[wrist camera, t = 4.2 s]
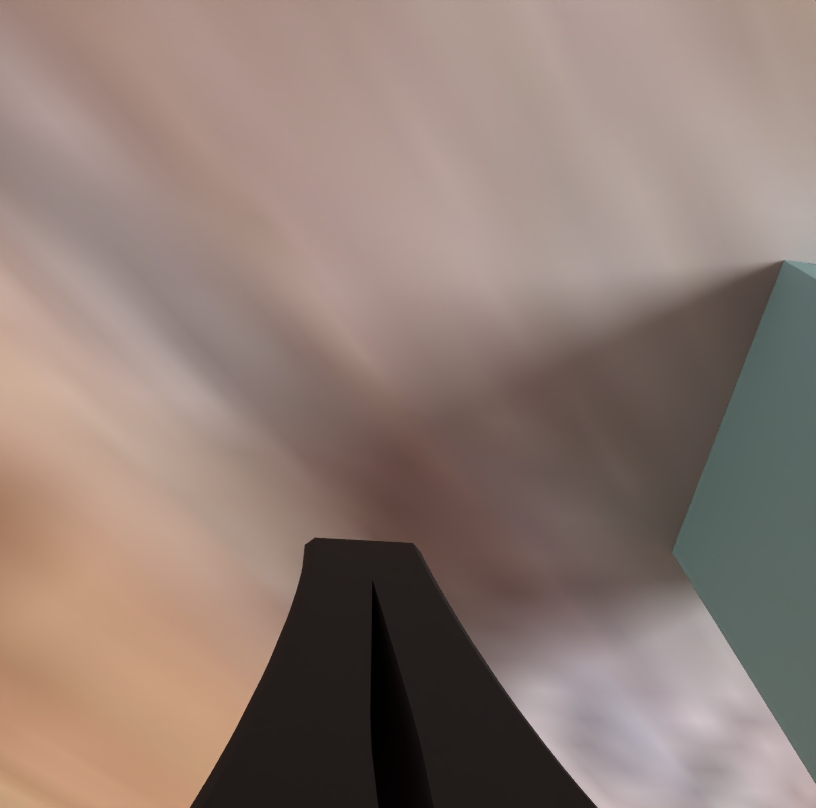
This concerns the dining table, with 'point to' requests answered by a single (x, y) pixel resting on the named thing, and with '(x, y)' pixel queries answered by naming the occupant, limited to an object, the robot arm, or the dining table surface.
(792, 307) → the teal block
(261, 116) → the dining table surface
